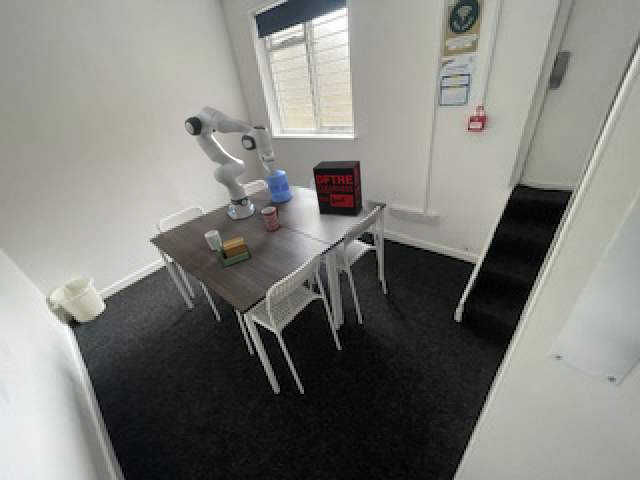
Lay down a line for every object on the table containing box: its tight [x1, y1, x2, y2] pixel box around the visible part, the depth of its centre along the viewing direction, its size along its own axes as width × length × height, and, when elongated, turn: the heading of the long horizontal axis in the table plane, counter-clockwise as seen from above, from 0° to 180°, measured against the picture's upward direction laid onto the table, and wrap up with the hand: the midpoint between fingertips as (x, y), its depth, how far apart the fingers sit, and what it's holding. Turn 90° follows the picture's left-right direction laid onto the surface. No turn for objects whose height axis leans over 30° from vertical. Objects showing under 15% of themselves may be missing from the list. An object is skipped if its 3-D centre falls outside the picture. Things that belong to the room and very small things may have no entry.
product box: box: [312, 160, 363, 217], centre depth 172 cm, size 26×14×32 cm, turn 67°
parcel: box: [222, 236, 248, 259], centre depth 148 cm, size 11×9×9 cm
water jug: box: [265, 166, 292, 204], centre depth 205 cm, size 16×16×28 cm
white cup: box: [204, 229, 223, 251], centre depth 158 cm, size 8×8×10 cm
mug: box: [261, 206, 280, 232], centre depth 170 cm, size 13×9×14 cm
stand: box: [216, 239, 250, 268], centre depth 147 cm, size 14×14×10 cm
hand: (271, 177), depth 162 cm, fingers closed
